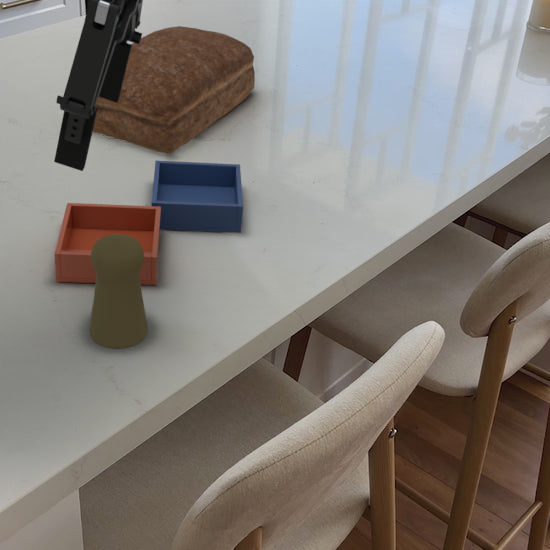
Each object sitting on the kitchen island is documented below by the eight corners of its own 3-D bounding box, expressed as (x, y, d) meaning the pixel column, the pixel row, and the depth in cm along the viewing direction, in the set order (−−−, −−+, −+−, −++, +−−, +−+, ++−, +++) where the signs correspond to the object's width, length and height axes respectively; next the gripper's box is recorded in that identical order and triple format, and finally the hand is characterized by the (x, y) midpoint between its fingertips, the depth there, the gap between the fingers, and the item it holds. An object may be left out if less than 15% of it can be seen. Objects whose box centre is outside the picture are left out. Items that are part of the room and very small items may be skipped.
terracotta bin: (56, 282, 99) (54, 253, 97) (68, 229, 109) (67, 202, 106) (156, 285, 100) (157, 257, 98) (160, 233, 110) (161, 206, 108)
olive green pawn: (98, 353, 90) (95, 263, 84) (83, 318, 94) (79, 230, 88) (155, 341, 92) (156, 253, 86) (138, 308, 97) (138, 222, 90)
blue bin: (151, 229, 110) (151, 202, 108) (155, 185, 119) (155, 160, 117) (241, 232, 111) (243, 206, 109) (238, 189, 121) (240, 164, 118)
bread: (71, 130, 131) (68, 56, 124) (173, 69, 153) (174, 4, 147) (171, 160, 126) (173, 84, 119) (261, 93, 148) (266, 26, 142)
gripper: (146, -11, 65) (92, 211, 78) (201, -106, 85) (151, 84, 98) (47, -46, 64) (9, 184, 77) (125, -135, 84) (85, 61, 97)
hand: (88, 129), depth 88 cm, fingers open, 13 cm apart
